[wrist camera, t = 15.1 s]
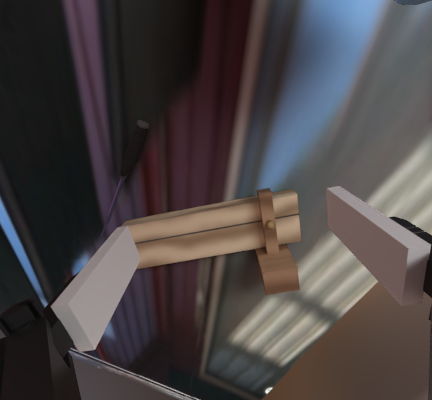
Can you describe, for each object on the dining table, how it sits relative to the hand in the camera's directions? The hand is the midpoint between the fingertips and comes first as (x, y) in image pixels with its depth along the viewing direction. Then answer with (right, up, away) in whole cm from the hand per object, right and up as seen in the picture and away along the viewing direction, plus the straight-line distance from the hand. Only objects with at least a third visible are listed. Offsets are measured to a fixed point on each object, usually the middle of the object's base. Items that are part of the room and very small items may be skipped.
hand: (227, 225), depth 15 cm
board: (-2, -4, +33) cm, 33 cm away
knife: (-18, +5, +29) cm, 35 cm away
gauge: (+10, -3, +32) cm, 34 cm away
